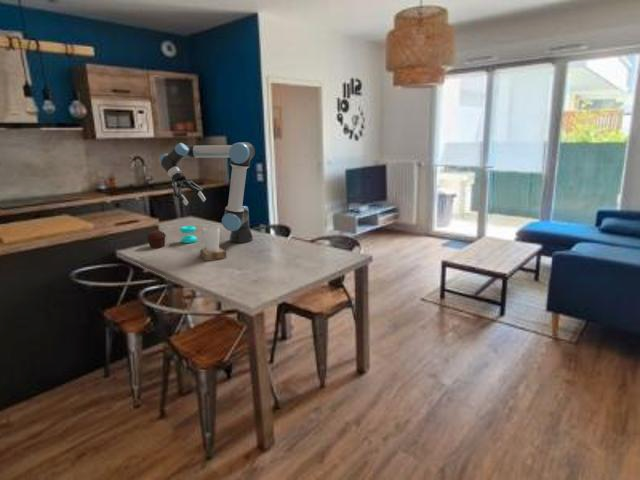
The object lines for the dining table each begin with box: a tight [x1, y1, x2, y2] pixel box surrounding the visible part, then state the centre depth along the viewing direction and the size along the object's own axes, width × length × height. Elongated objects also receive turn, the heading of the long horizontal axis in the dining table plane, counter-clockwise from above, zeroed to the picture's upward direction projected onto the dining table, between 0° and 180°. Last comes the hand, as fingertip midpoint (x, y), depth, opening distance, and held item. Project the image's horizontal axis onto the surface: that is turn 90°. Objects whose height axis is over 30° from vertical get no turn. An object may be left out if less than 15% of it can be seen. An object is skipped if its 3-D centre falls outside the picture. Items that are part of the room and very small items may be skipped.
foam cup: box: [202, 226, 221, 252], centre depth 237 cm, size 10×9×13 cm
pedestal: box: [199, 246, 227, 262], centre depth 239 cm, size 12×12×4 cm
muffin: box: [146, 230, 167, 249], centre depth 261 cm, size 12×11×10 cm
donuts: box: [179, 225, 198, 244], centre depth 271 cm, size 10×10×10 cm
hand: (196, 202), depth 246 cm, fingers open, 13 cm apart
